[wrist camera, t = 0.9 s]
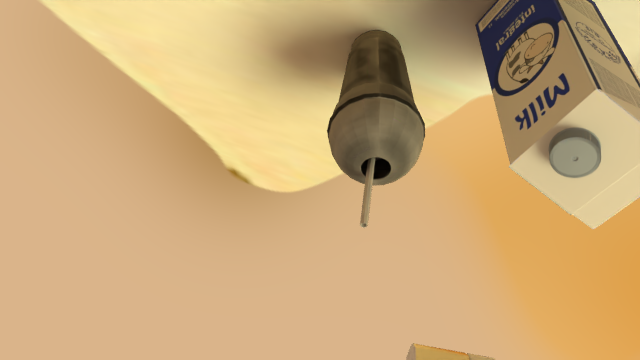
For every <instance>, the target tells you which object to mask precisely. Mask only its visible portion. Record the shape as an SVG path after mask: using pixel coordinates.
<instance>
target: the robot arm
mask: <svg viewBox="0 0 640 360" xmlns="http://www.w3.org/2000/svg"><path fill="white" fill-rule="evenodd" d="M407 360H495V358H490V357H485V356H480V355H474V354H468V353H467V354H466V353H463V352H457V351H452V350H446V349H441V348H436V347H430V346H425V345H419V344H414V343H413V344H412V346H411V347H410V349H409V352H408V355H407Z"/></svg>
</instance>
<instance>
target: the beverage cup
mask: <svg viewBox="0 0 640 360" xmlns="http://www.w3.org/2000/svg"><path fill="white" fill-rule="evenodd" d="M327 132H328V138H329V143H330V147H331V152H332V155H333V157H334V159H335V161H336V162H337V164H338V166H339V167H340V169H341V170H342V171H343V172H344V173H346V174H347V175H348V176H349V177H350V178H352V179H354V180H356V181H358V182H360V183H363V184H365V188H364V196H363V205H362V213H361V222H360V226H361V227H367V226H368V219H369V210H370V201H371V191H372V185H385V184H388V183H392V182H394V181H396V180H398V179H400V178H401V177H403V176H404V175H406V174H407V173H408V172H409V170H410V169H411V168H412V167H413V166H414V165H415V163H416V162H417V160H418V157H419V155H420V152H421V150H422V146H423V140H424V137H425V124H424V121H423V119H422V117H421V115H420V113H419V111H418V109H417V107H416V105H415V103H414V99H413V94H412V90H411V85H410V81H409V77H408V72H407V68H406V63H405V59H404V55H403V53H402V51H401V46H400V44H399V42H398V40H397V39H396V38H395V37H394V36H393V35H391V34H389V33H387V32H384V31H379V30H376V31H369V32H366V33H364V34H362V35H360V36H359V37H358V38H357V39H356V40H355V42H354V43H353V45H352V48H351V52H350V54H349V58H348V62H347V66H346V71H345V75H344V80H343V84H342V89H341V93H340V98H339V102H338V104H337V105H336V107H335V110H334V112H333V115H332V117H331V118H330V121H329V125H328V129H327Z"/></svg>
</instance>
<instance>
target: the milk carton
mask: <svg viewBox="0 0 640 360" xmlns="http://www.w3.org/2000/svg"><path fill="white" fill-rule="evenodd" d="M476 29H477V33H478V37H479V41H480V45H481V49H482V53H483V57H484V61H485V65H486V69H487V73H488V77H489V81H490V85H491V89H492V93H493V97H494V101H495V105H496V109H497V113H498V117H499V121H500V125H501V129H502V133H503V137H504V141H505V145H506V149H507V153H508V157H509V161H510V166H509V168H511V169H512V170H513V171H515V172H516V173H517V174H518V175H520V176H521V177H523V178H524V179H525V180H526V181H527V182H529V183H530V184H531V185H533V186H534V187H535V188H536V189H538V190H539V191H540V192H542V193H543V194H544V195H545V196H547V197H548V198H549V199H551V200H552V201H553V202H555V203H556V204H557V205H558V206H560V207H561V208H562V209H564V210H565V211H566V212H567V213H569V214H570V215H572V214H573V215H574V216H575V217H577V218H578V219H579V220H581V221H582V222H584V223H585V224H586V225H588V226H589V227H591V228H592V229H595V228H596V227H598V226H599V225H601V224H602V223H604V222H605V221H606V220H608V219H609V218H611V217H612V216H614V215H615V214H616V213H618V212H619V211H621V210H622V209H623V208H625V207H626V206H628V205H629V204H631V203H632V202H633V201H635V200H636V199H638V198H639V197H640V80H639V78H638V76H637V75H636V73H635V71H634V69H633V68H632V66H631V64H630V63H629V61H628V59H627V57H626V56H625V54H624V52H623V51H622V49H621V47H620V45H619V44H618V42H617V40H616V38H615V37H614V35H613V33H612V32H611V30H610V28H609V26H608V25H607V23H606V21H605V20H604V18H603V16H602V14H601V13H600V11H599V9H598V8H597V6H596V4H595V2H593V1H592V0H497V1H496V2H495V4H494V5H493V6H492V7H491V8H490V9H489V10H488V12H487V13H486V14H485V15H484V16H483V17H482V18H481V19H480V21H479V22H478V23H477V24H476Z"/></svg>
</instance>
